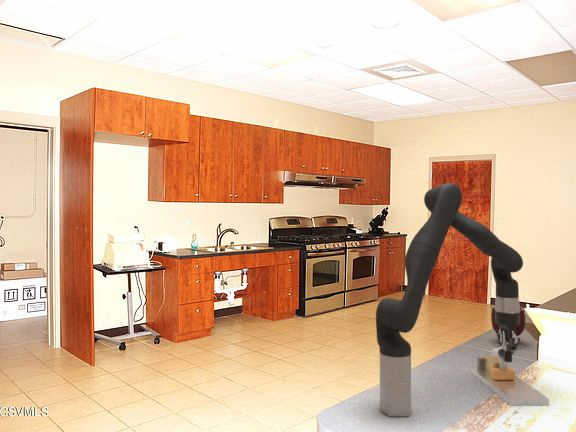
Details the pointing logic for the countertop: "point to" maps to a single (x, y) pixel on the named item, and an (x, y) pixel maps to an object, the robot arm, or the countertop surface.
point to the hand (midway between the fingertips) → (507, 361)
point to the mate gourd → (518, 328)
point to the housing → (491, 363)
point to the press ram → (502, 369)
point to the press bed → (510, 388)
